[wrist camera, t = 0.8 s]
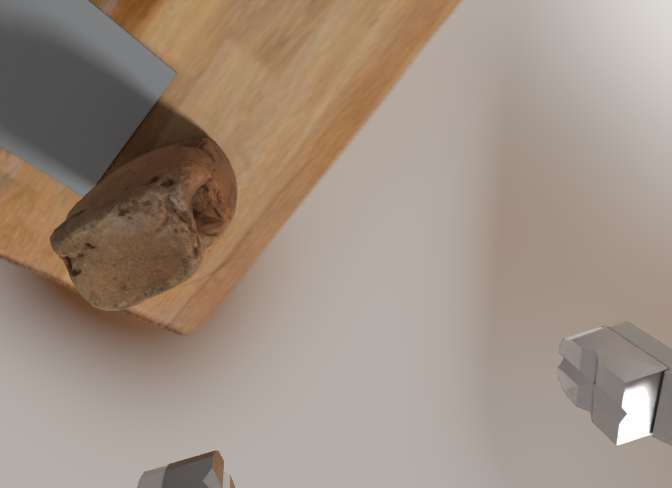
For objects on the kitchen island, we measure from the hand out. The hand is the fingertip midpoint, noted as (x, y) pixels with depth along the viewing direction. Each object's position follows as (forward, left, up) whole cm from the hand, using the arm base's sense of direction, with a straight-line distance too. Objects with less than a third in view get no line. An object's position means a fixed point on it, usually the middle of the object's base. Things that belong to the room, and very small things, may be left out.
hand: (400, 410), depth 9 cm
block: (+10, -5, -39) cm, 40 cm away
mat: (+10, -20, -38) cm, 44 cm away
